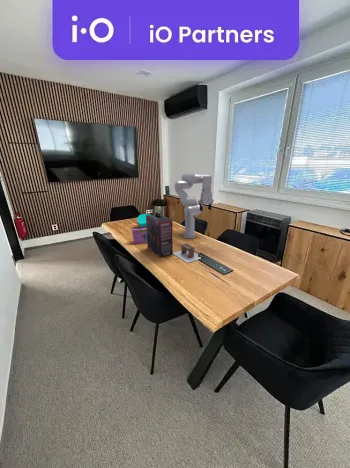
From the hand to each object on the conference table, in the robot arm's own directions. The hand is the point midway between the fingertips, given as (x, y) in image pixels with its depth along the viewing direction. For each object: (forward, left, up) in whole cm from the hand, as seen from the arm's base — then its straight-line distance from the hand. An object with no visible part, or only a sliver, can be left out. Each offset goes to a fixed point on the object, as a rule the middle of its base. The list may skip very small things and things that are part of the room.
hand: (205, 210), depth 178 cm
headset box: (-9, -42, -32) cm, 54 cm away
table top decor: (-69, -19, -32) cm, 78 cm away
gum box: (-36, -41, -32) cm, 64 cm away
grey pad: (+12, -28, -32) cm, 44 cm away
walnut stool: (+12, -28, -32) cm, 44 cm away
